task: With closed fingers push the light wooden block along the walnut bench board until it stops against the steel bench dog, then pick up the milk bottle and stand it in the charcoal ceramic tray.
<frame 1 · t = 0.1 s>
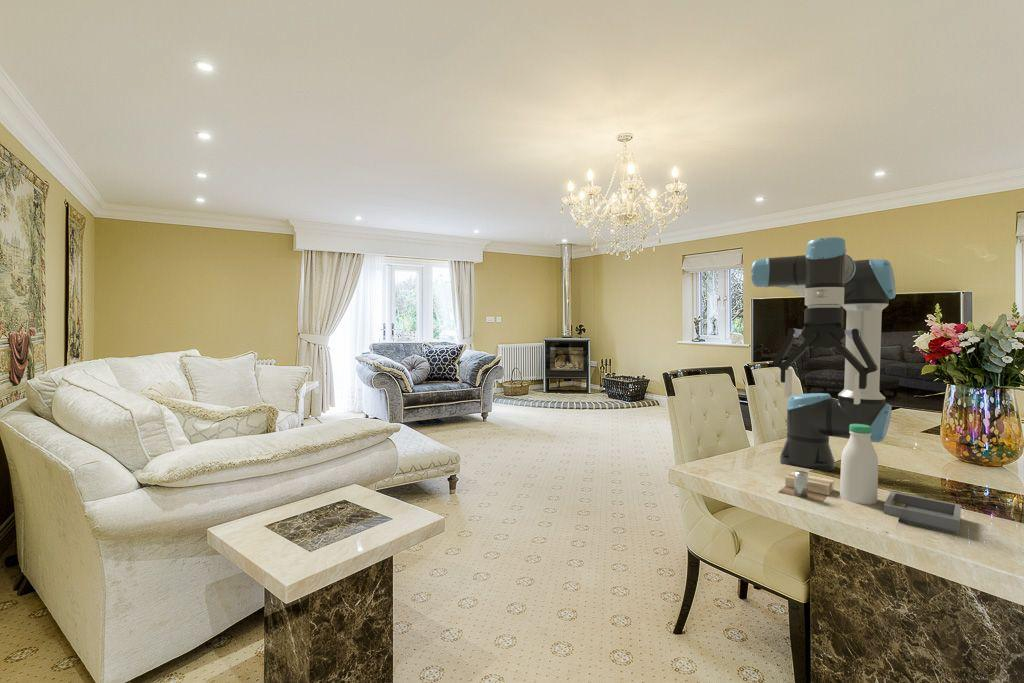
hand: (821, 400, 111), 28 cm above the table, fingers open, 13 cm apart
light wooden block: (809, 487, 131), point 1 cm above the table, touching bench board
bench dog: (800, 500, 125), resting on bench board
bench board: (805, 495, 129), on the table
tray: (921, 518, 114), on the table
milk bottle: (857, 504, 123), on the table
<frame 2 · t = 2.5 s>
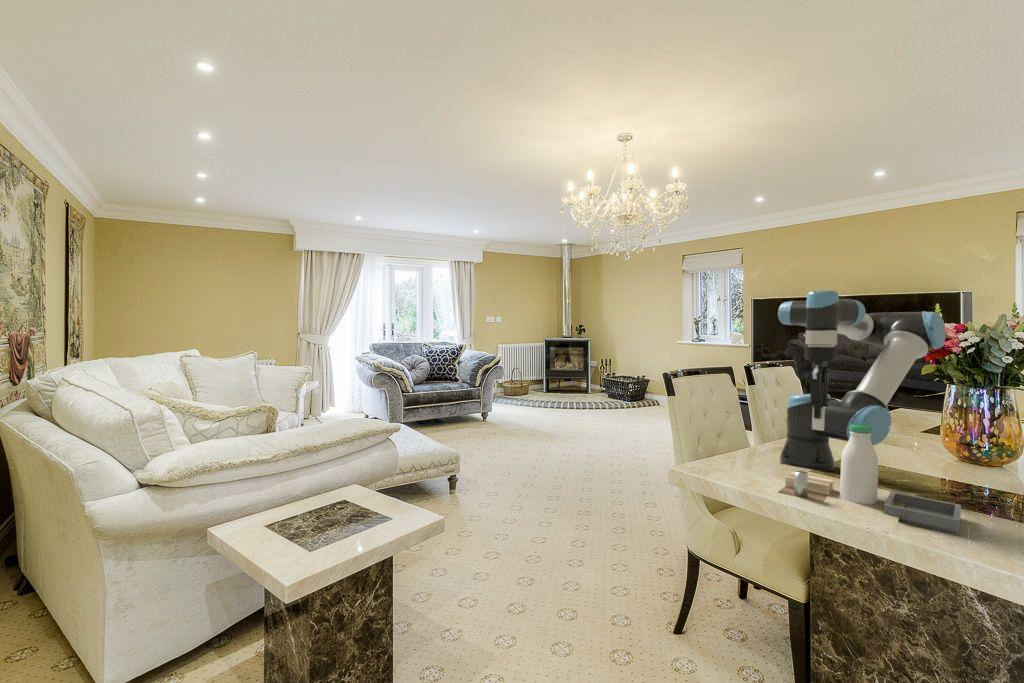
hand: (818, 429, 137), 16 cm above the table, fingers closed
nothing on the table moved.
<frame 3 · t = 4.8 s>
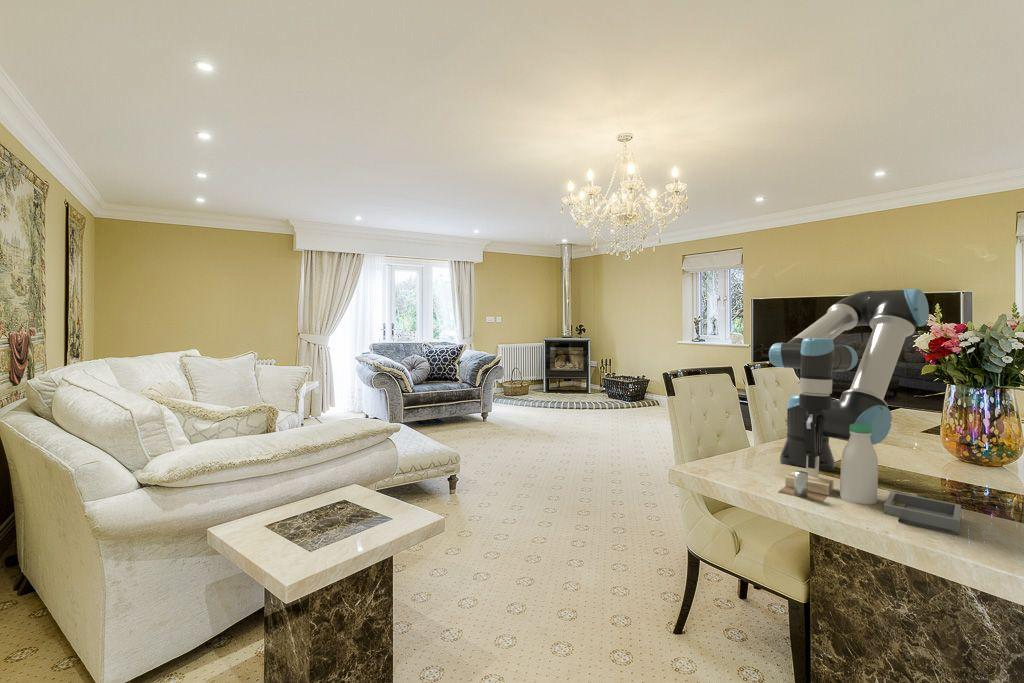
hand: (812, 479, 134), 3 cm above the table, fingers closed
light wooden block: (809, 487, 131), point 1 cm above the table, touching bench board, gripper
everything else where it was.
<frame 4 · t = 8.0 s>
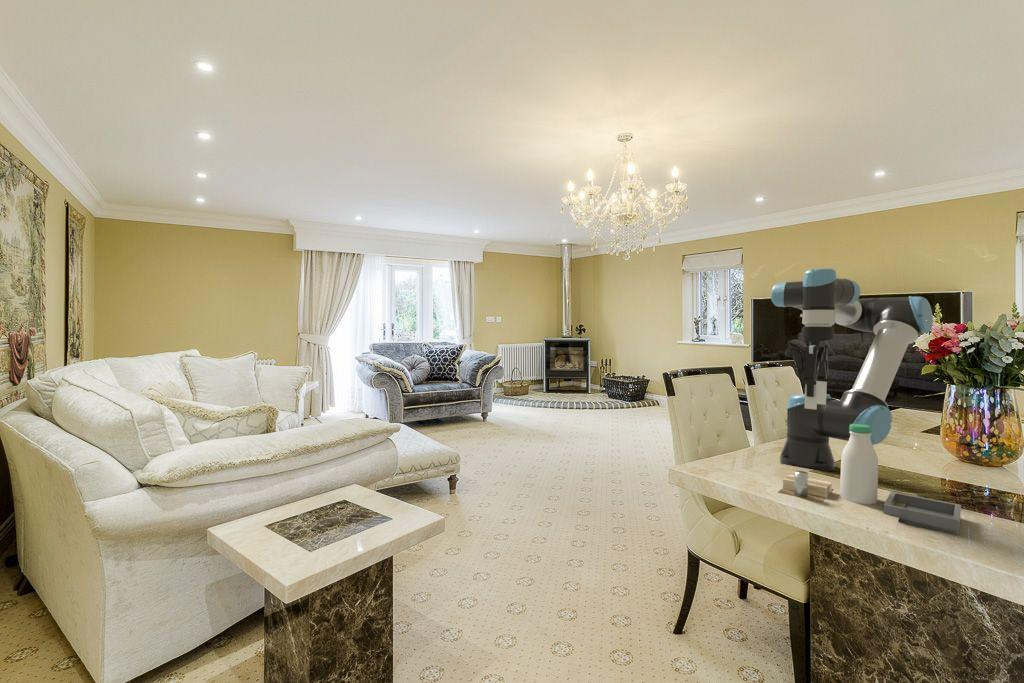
hand: (815, 406, 134), 23 cm above the table, fingers open, 10 cm apart
light wooden block: (806, 490, 129), point 1 cm above the table, touching bench board
everything else where it was.
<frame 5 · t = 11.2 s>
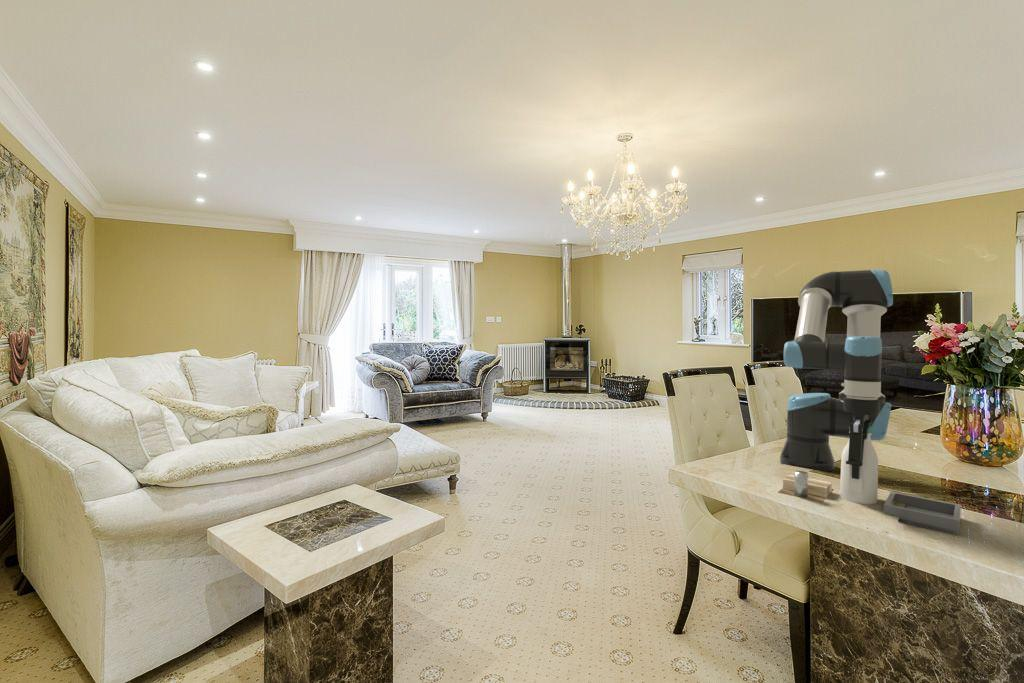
hand: (858, 486, 123), 4 cm above the table, fingers closed on milk bottle, 7 cm apart
milk bottle: (858, 504, 123), on the table, touching gripper
everything else where it was.
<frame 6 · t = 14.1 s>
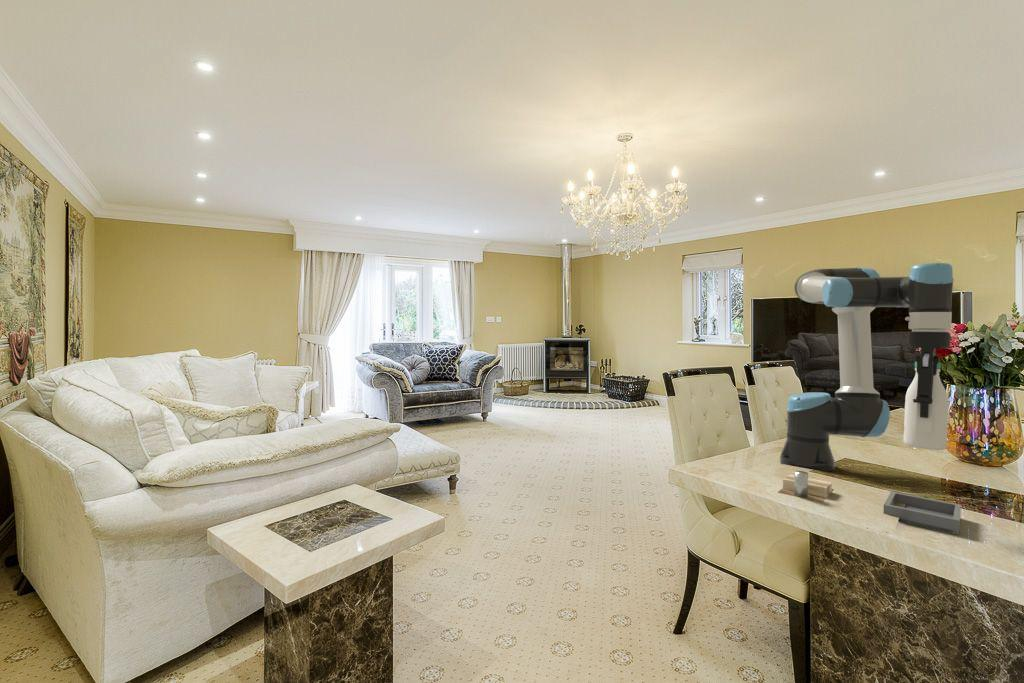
hand: (925, 428, 113), 21 cm above the table, fingers closed on milk bottle, 7 cm apart
milk bottle: (924, 447, 113), point 17 cm above the table, touching gripper
everything else where it was.
when the fingers open (7 cm above the table, at t = 17.0 s): milk bottle drops 2 cm, resting on tray.
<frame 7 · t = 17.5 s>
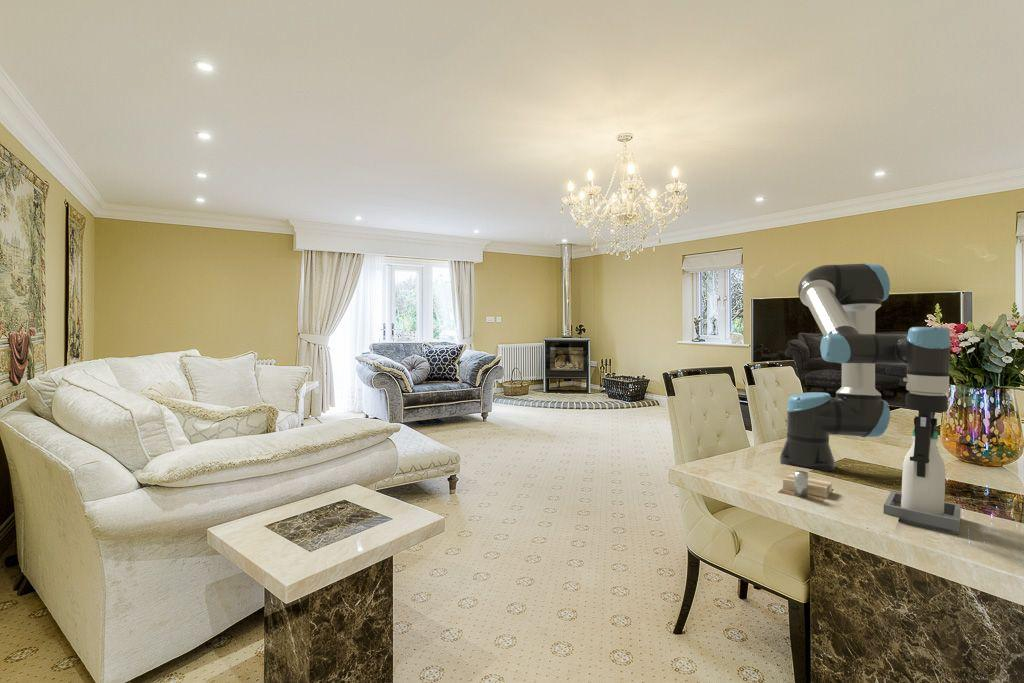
hand: (923, 483, 114), 8 cm above the table, fingers open, 13 cm apart
milk bottle: (921, 515, 114), point 1 cm above the table, touching tray
everything else where it was.
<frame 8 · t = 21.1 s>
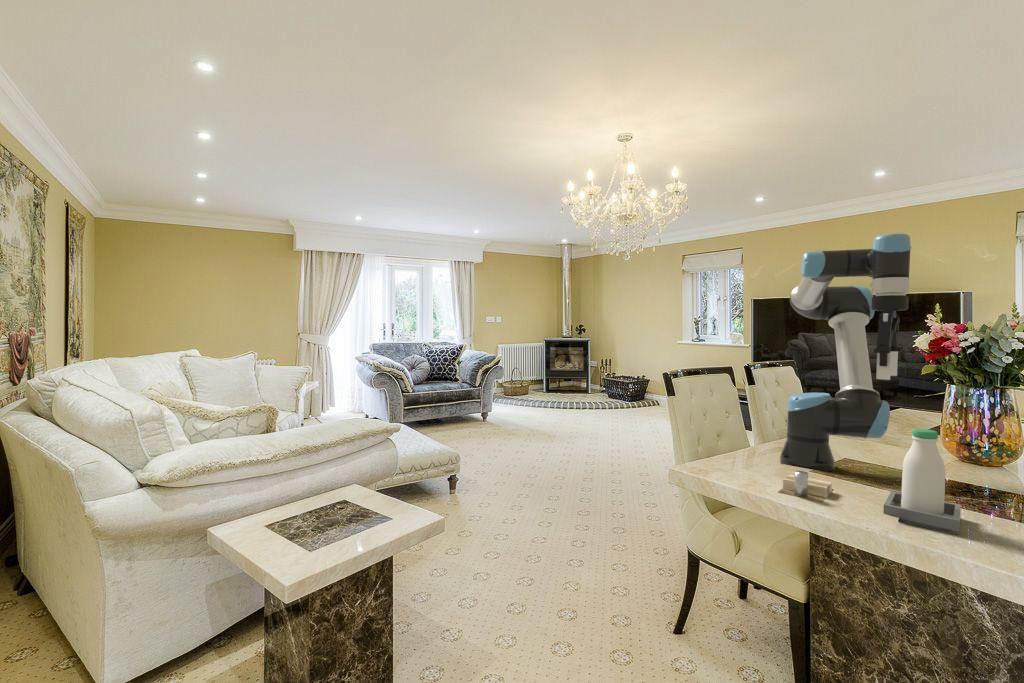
hand: (887, 377, 126), 32 cm above the table, fingers open, 13 cm apart
nothing on the table moved.
at the end: light wooden block 1.2 cm from the target spot, point 1.2 cm above the table; milk bottle inside the target area on the tray (0.2 cm from its centre), point 0.6 cm above the tray's base; milk bottle tilted 0° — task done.
